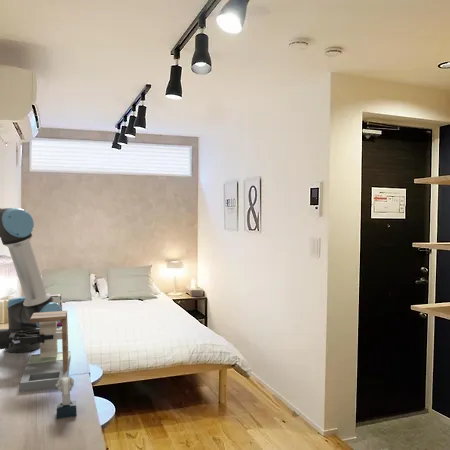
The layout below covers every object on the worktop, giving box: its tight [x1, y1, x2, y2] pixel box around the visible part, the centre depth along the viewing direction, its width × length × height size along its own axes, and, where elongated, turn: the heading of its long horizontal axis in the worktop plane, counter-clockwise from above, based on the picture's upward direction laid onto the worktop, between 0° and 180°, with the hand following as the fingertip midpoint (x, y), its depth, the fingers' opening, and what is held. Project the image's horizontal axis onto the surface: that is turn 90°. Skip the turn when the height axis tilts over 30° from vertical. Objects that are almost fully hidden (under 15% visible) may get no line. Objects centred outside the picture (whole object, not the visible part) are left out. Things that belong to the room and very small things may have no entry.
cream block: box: [38, 321, 59, 358], centre depth 186 cm, size 5×6×14 cm
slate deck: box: [19, 350, 71, 393], centre depth 178 cm, size 33×15×3 cm, turn 16°
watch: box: [56, 376, 77, 420], centre depth 141 cm, size 6×8×11 cm
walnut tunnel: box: [30, 310, 69, 371], centre depth 174 cm, size 10×12×20 cm
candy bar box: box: [51, 293, 63, 327], centre depth 253 cm, size 11×5×16 cm, turn 105°
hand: (62, 333), depth 187 cm, fingers closed on cream block, 5 cm apart
